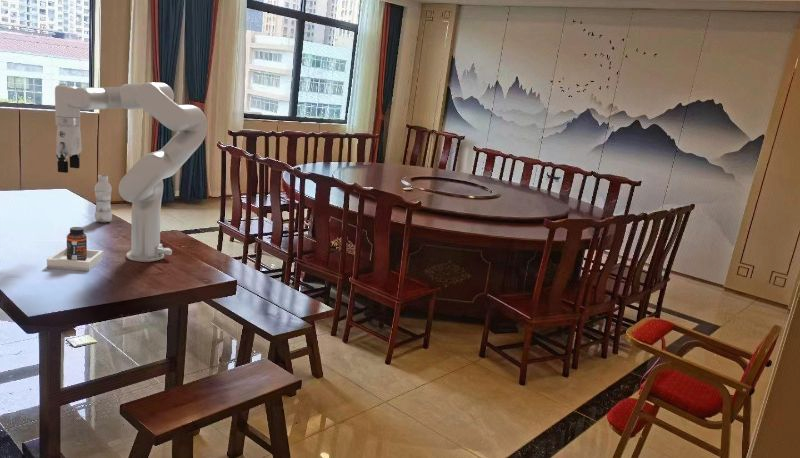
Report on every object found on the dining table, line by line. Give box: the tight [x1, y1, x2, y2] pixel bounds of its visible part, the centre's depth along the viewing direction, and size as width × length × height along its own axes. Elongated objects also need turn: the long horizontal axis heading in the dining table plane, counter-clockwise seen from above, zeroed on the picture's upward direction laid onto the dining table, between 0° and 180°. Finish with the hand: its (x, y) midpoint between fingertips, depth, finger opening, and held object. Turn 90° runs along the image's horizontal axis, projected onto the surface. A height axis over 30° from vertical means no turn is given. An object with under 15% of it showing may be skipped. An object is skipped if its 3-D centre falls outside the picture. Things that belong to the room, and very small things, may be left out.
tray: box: [46, 247, 105, 272], centre depth 197 cm, size 13×13×3 cm
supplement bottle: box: [66, 226, 88, 261], centre depth 196 cm, size 6×6×11 cm
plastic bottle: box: [94, 174, 113, 223], centre depth 245 cm, size 6×7×20 cm
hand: (69, 170), depth 206 cm, fingers open, 9 cm apart
